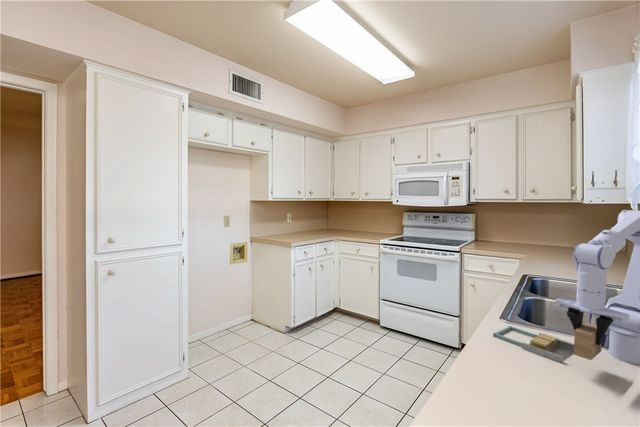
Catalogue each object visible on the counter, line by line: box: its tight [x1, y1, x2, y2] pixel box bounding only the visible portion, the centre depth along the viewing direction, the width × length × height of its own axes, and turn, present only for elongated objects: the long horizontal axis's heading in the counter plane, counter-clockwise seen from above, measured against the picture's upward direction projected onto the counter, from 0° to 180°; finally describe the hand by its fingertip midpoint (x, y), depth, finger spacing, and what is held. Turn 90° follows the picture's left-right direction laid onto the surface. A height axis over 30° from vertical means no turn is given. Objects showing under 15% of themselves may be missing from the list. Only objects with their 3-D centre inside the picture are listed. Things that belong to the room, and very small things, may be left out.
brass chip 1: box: [529, 337, 552, 351], centre depth 93 cm, size 4×4×2 cm
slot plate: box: [520, 332, 574, 364], centre depth 93 cm, size 13×10×3 cm
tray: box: [492, 325, 539, 347], centre depth 101 cm, size 11×8×2 cm
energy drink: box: [588, 314, 610, 348], centre depth 97 cm, size 5×5×12 cm
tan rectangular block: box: [573, 322, 603, 361], centre depth 81 cm, size 8×4×6 cm, turn 125°
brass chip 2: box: [537, 333, 559, 349], centre depth 95 cm, size 4×4×2 cm
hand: (588, 340), depth 81 cm, fingers closed on tan rectangular block, 3 cm apart
